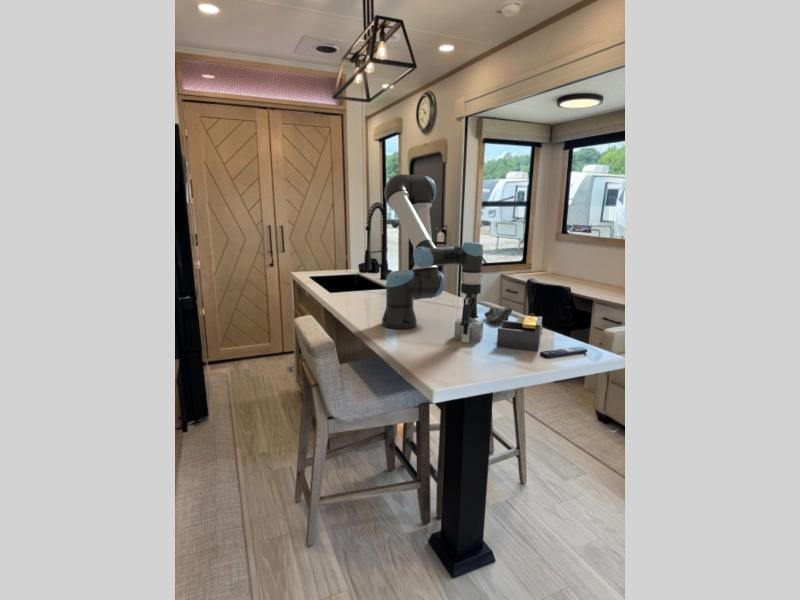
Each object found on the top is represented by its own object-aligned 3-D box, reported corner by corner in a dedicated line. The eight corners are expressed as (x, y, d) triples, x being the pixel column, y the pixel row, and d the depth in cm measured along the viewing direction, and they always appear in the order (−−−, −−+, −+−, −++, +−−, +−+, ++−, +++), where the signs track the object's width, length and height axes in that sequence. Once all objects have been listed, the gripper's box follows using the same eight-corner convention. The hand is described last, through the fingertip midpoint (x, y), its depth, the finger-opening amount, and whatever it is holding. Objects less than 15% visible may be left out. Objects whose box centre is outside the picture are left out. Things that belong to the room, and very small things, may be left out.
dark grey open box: (496, 346, 162) (498, 320, 160) (501, 337, 174) (503, 312, 172) (537, 351, 157) (540, 325, 155) (540, 341, 169) (542, 316, 167)
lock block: (454, 339, 171) (454, 322, 170) (457, 335, 177) (458, 318, 175) (479, 342, 168) (480, 324, 167) (482, 338, 174) (483, 320, 172)
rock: (492, 324, 191) (504, 304, 190) (475, 313, 201) (486, 294, 201) (510, 334, 198) (522, 315, 197) (492, 323, 209) (503, 305, 208)
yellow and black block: (541, 337, 177) (548, 317, 181) (516, 326, 178) (523, 306, 183) (533, 346, 186) (539, 326, 190) (509, 335, 187) (515, 316, 191)
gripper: (475, 288, 156) (472, 347, 160) (486, 279, 177) (483, 331, 182) (454, 286, 158) (452, 345, 163) (467, 277, 180) (465, 329, 184)
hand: (468, 337), depth 172 cm, fingers open, 11 cm apart
